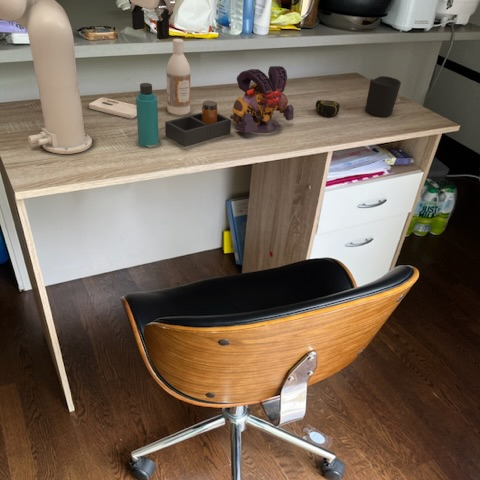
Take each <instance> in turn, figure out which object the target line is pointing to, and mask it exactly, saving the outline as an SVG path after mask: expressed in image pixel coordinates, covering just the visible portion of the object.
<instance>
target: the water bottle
mask: <svg viewBox="0 0 480 480" xmlns="http://www.w3.org/2000/svg"><path fill="white" fill-rule="evenodd" d="M135 105H136V109H137V116H136V122H137V138H138V145H139V146H140V147H143V148H148V149H149V148H150V147H152V146H155V145H157V144H159V143H160V140H159V139H160V138H159V135H160V134H159V110H158V109H159V108H158V106H159V105H158V97H157V96H156V95H155V93H154V91H153V84H152V83H149V82H141V83H140V84H139V91H138V95H137V96H135Z"/></svg>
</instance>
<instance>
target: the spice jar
mask: <svg viewBox="0 0 480 480" xmlns="http://www.w3.org/2000/svg"><path fill="white" fill-rule="evenodd" d="M218 110H219V108H218V103H217V101H214V100H204V101H202V106H201V113H202V122H204V123H206V124H208V125H209V124H212V123H216V122H217V114H219V112H218Z"/></svg>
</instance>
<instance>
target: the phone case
mask: <svg viewBox="0 0 480 480" xmlns="http://www.w3.org/2000/svg"><path fill="white" fill-rule="evenodd" d="M88 108H89V109H91V110H94V111H98V112H101V113H106V114H109V115H110V114H111V115H114V116H118V117H121V118H126V119H134V118H135V117H136V118H137V109H136V104H133V103H129V102H125V101H121V100H116V99H112V98H108V97H104V96H103V97H99V98H98V99H95V100H94V101H92V102H89V103H88Z"/></svg>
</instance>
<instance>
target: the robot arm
mask: <svg viewBox="0 0 480 480" xmlns="http://www.w3.org/2000/svg"><path fill="white" fill-rule="evenodd" d="M128 2H129V5H130V6H129V9H130V11H131V20H132V21H131V22H132V30H134V31H136V30H137V31H138V30H144V29H145V28H146V24H145V23H146V22H145V9H146V10H149V11H153V10H154V13H155V15H156V16H157V20H156V39H157V40H160V41H161V40H168V39H170V20H172V15H173V13H174V8H175V5H176V3H175V2H176V1H175V0H128ZM0 20H2V21H3V22H4V21H5V22H13V21H14V22H15V23H16V24H18V25H20V26H21V27H23V28H24V29H25V30H27V36H28V41H29V46H30V52H31V56H32V61H33V68H34V72H35V80H36V84H37V89H38V94H39V99H40V100H39V101H40V105H41V111H42V118H43V123H44V126H43V127H41V131H40V132H38V133H37V134H31V135H27V140H28V142H29V144H30V145H33V144H38V145H39V146H41V147H42V148H43V149H44V150H46V151H47V152H50V153H53V154H60V155H71V154H72V155H73V154H78V153H82V152H85V151H87V150H88V149H90V148H91V147H92V145H93V139H92V137H91V136H90V135H89V134H87V133H85V132H86V131H85V124H84V115H83V108H82V101H81V93H80V86H79V85H80V84H79V79H78V70H77V63H76V53H75V41H74V40H75V39H74V34H73V33H74V32H73V29H72V26H71V25H72V24H71V22H70V19H69V17H68V14H67V12H66V11H65V9H64V7H62V5H61V4H60V3H58V2H57V0H0Z"/></svg>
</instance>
